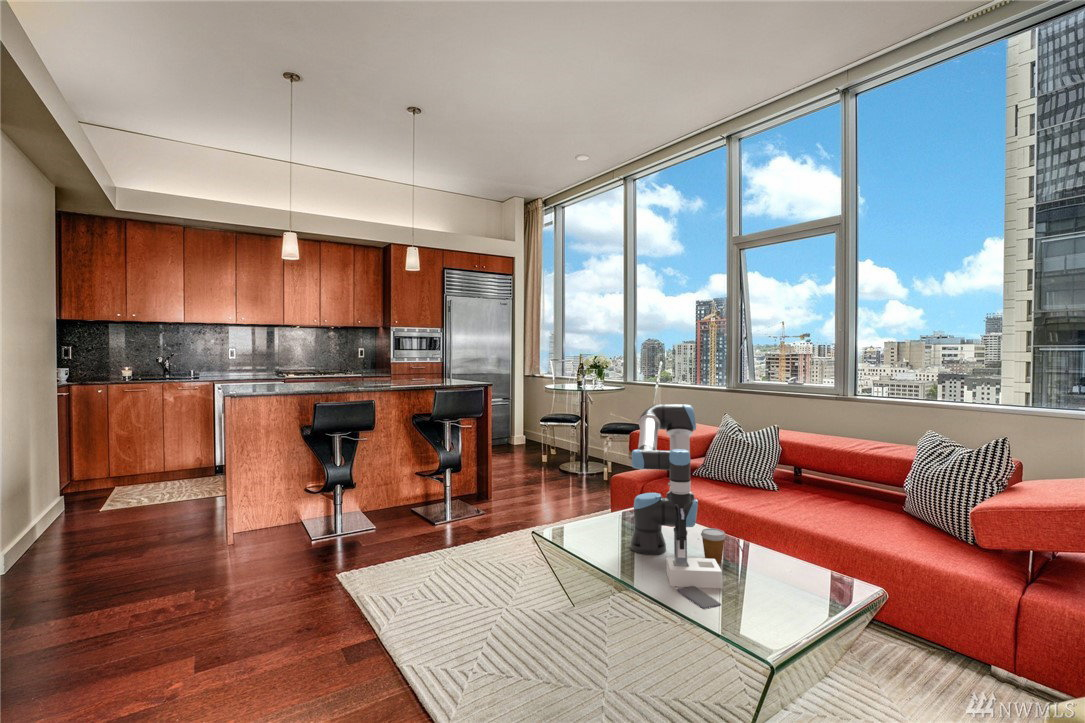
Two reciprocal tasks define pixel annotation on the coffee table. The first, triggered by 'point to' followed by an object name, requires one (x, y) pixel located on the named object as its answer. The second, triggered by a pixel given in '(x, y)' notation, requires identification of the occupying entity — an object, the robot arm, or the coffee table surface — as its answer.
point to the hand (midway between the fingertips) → (680, 554)
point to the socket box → (694, 573)
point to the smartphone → (698, 597)
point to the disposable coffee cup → (713, 543)
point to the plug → (677, 560)
